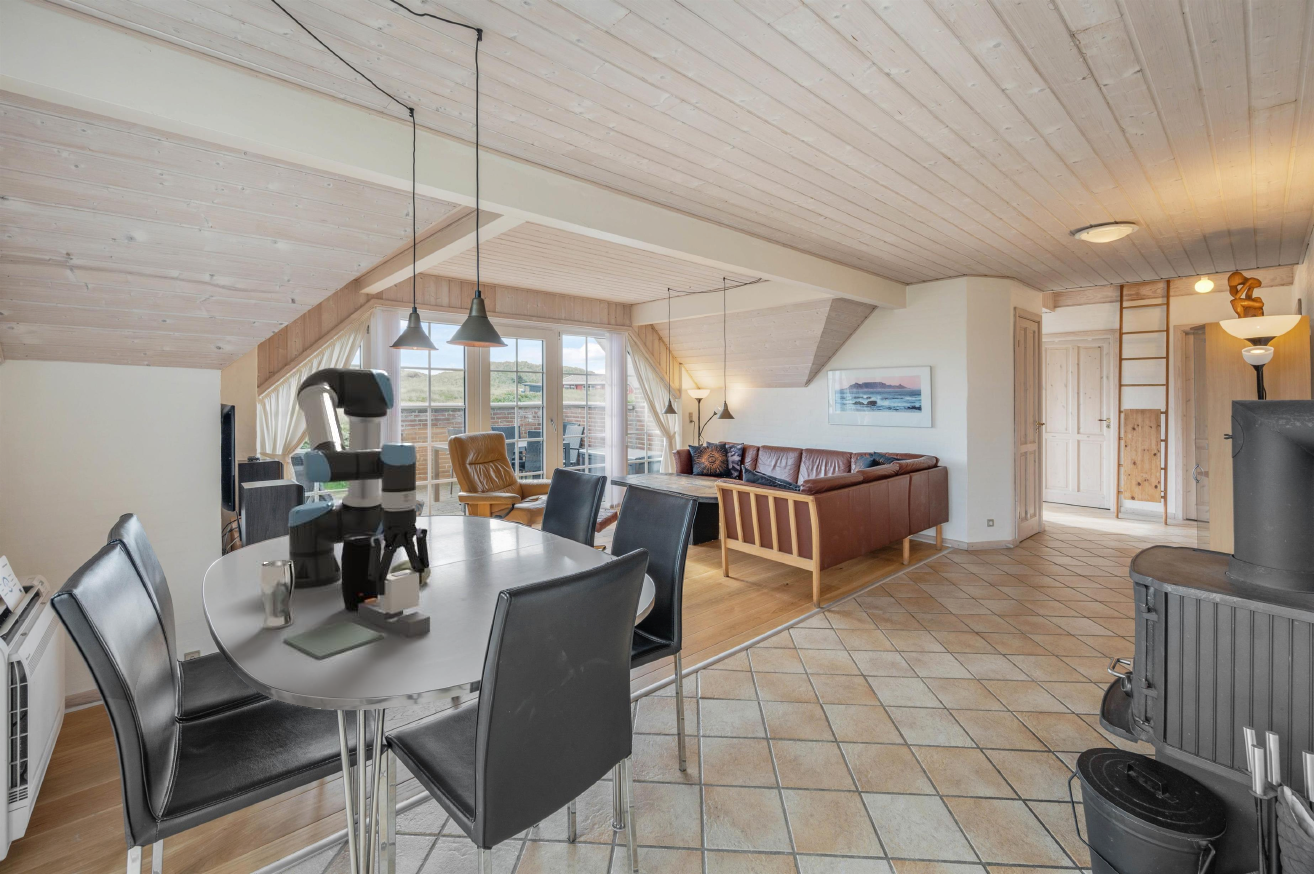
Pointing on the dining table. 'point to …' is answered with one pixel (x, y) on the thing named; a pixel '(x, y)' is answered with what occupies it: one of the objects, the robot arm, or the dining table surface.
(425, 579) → the seashell
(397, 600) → the block
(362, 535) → the portable speaker
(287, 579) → the beer glass
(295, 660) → the dining table surface
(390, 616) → the power strip
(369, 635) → the mat
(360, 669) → the dining table surface
